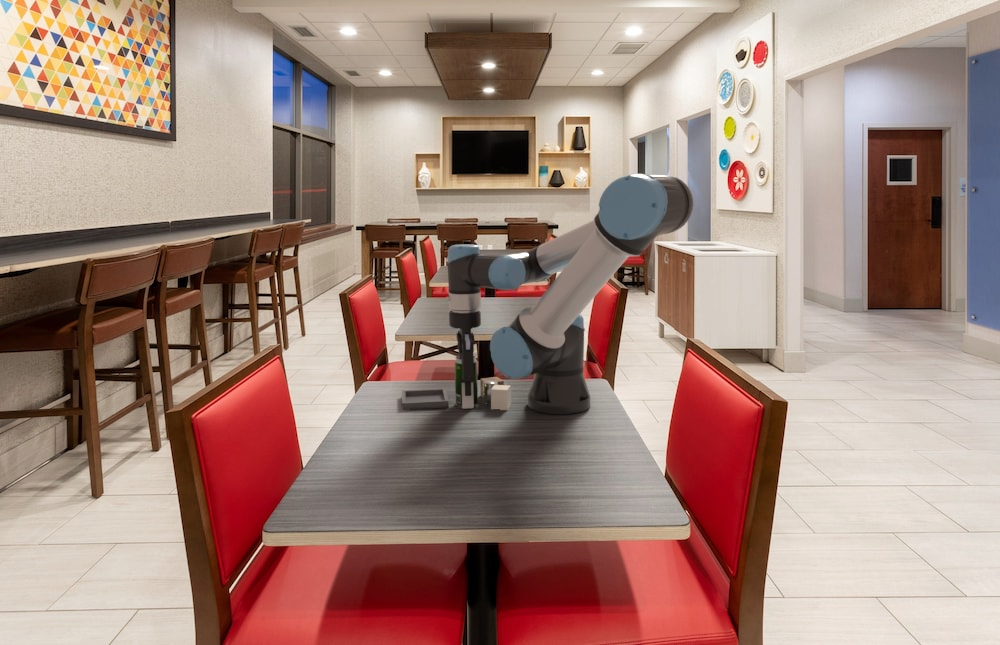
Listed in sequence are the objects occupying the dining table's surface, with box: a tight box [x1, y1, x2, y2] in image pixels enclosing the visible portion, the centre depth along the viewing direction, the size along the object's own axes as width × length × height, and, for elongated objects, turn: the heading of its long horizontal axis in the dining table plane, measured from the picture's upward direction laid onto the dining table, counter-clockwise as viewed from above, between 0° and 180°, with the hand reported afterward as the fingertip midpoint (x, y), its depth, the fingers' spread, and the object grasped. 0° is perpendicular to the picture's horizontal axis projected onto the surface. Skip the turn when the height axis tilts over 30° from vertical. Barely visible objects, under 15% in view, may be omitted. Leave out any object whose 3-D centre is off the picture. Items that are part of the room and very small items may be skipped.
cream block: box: [490, 384, 512, 411], centre depth 169 cm, size 4×4×5 cm
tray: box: [401, 387, 450, 411], centre depth 175 cm, size 11×11×2 cm
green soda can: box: [454, 354, 479, 409], centre depth 170 cm, size 5×5×12 cm
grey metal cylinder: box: [482, 381, 498, 405], centre depth 173 cm, size 4×4×5 cm
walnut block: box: [479, 376, 505, 398], centre depth 178 cm, size 4×4×4 cm
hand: (466, 403), depth 172 cm, fingers closed on green soda can, 5 cm apart
